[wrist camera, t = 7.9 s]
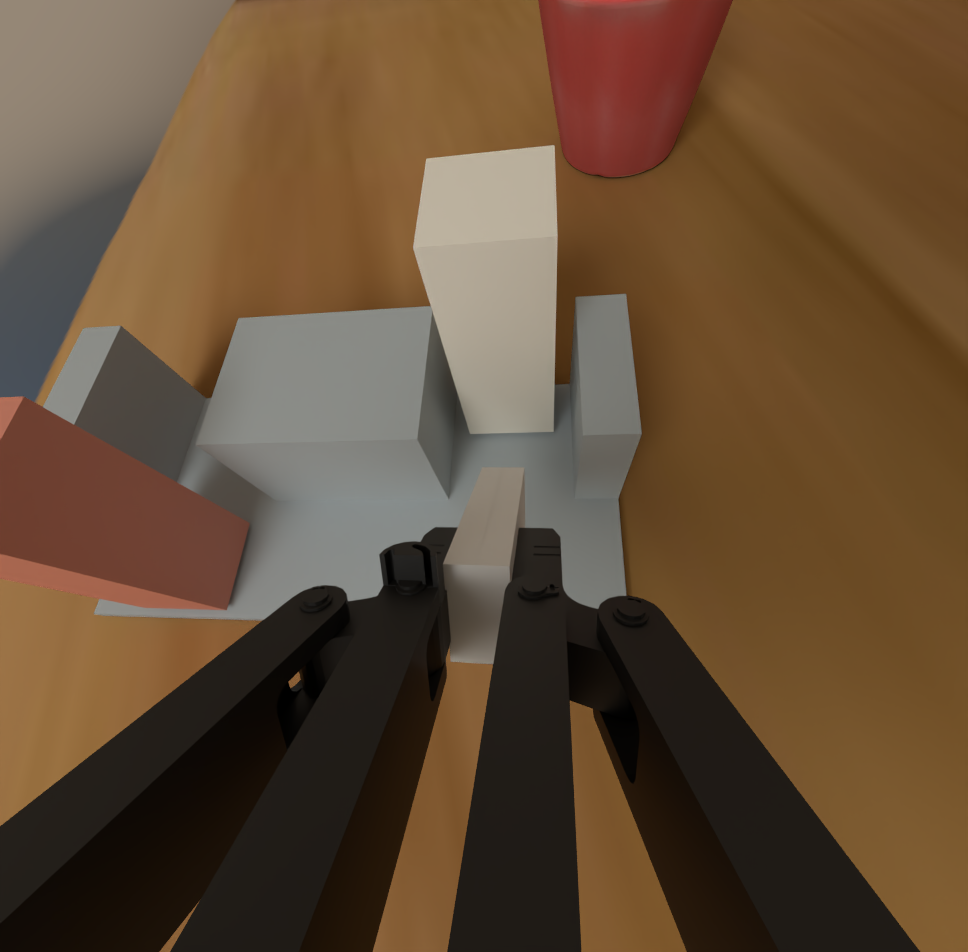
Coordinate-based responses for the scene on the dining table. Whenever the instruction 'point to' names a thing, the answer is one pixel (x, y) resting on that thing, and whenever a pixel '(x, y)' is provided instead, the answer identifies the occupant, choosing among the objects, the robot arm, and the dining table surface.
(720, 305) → the dining table surface
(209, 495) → the slot block
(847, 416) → the dining table surface
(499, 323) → the cream plug
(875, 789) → the dining table surface
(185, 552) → the red plug
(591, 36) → the flower pot
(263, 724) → the robot arm
